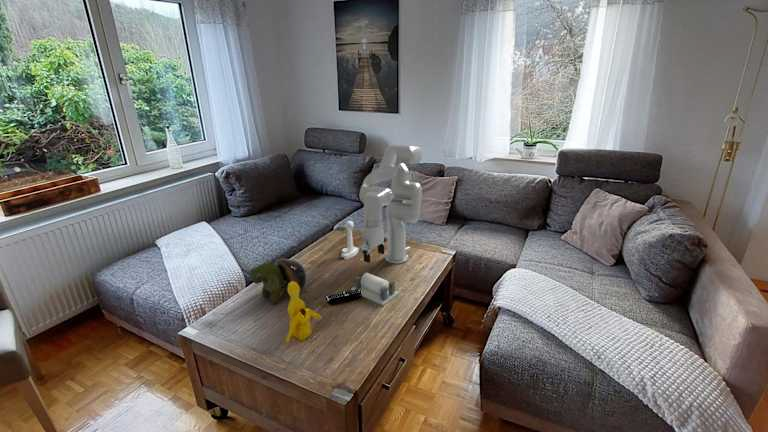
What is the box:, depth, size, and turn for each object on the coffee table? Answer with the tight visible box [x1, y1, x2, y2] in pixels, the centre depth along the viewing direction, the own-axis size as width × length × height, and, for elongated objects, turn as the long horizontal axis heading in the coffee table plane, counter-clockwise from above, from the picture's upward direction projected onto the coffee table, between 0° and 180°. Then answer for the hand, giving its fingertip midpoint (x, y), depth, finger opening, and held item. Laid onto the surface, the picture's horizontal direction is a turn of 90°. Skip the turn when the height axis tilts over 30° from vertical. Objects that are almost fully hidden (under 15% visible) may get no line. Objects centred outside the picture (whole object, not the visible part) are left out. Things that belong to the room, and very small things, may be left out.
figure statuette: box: [285, 281, 323, 343], centre depth 138 cm, size 18×8×22 cm, turn 144°
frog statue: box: [250, 258, 307, 305], centre depth 163 cm, size 19×16×25 cm
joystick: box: [340, 220, 359, 260], centre depth 200 cm, size 11×8×20 cm
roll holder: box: [350, 271, 400, 307], centre depth 167 cm, size 11×19×6 cm, turn 52°
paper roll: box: [360, 272, 390, 294], centre depth 166 cm, size 7×15×7 cm, turn 52°
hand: (374, 257), depth 161 cm, fingers open, 9 cm apart
